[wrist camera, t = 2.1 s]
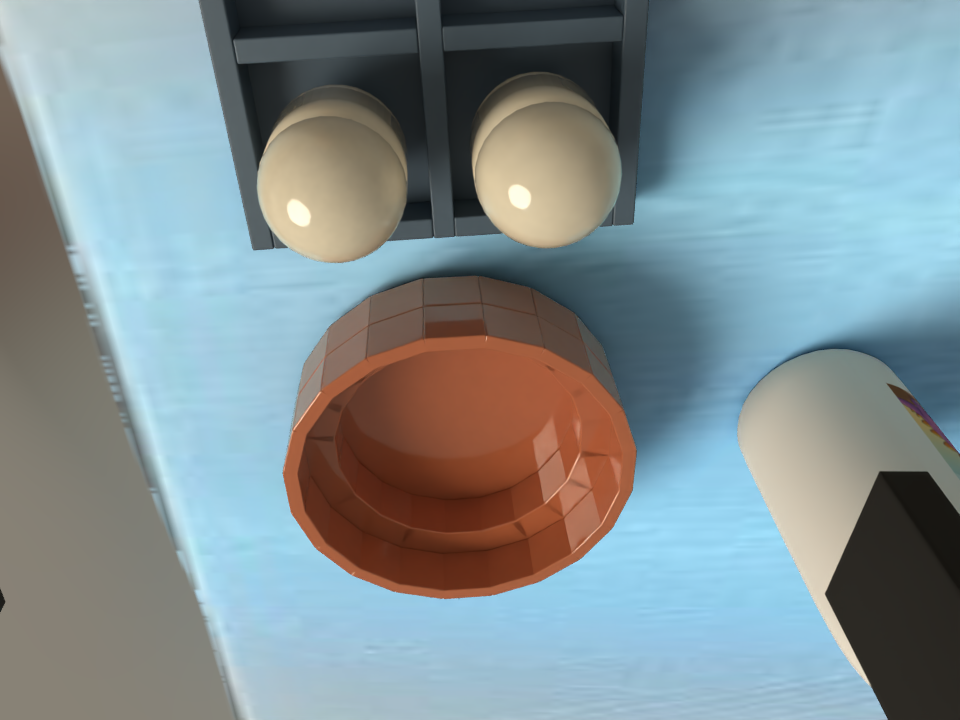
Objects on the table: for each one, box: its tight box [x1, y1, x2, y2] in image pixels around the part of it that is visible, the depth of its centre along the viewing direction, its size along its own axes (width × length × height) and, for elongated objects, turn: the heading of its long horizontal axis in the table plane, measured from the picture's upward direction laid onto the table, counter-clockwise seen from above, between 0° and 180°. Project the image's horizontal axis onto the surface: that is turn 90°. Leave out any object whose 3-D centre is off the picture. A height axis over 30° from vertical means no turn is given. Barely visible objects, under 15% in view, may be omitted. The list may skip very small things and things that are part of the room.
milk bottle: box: [737, 349, 960, 688], centre depth 32 cm, size 8×8×20 cm
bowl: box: [283, 275, 637, 599], centre depth 37 cm, size 14×14×5 cm
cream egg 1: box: [257, 84, 408, 263], centre depth 28 cm, size 5×5×8 cm
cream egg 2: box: [469, 72, 622, 248], centre depth 28 cm, size 5×5×8 cm
